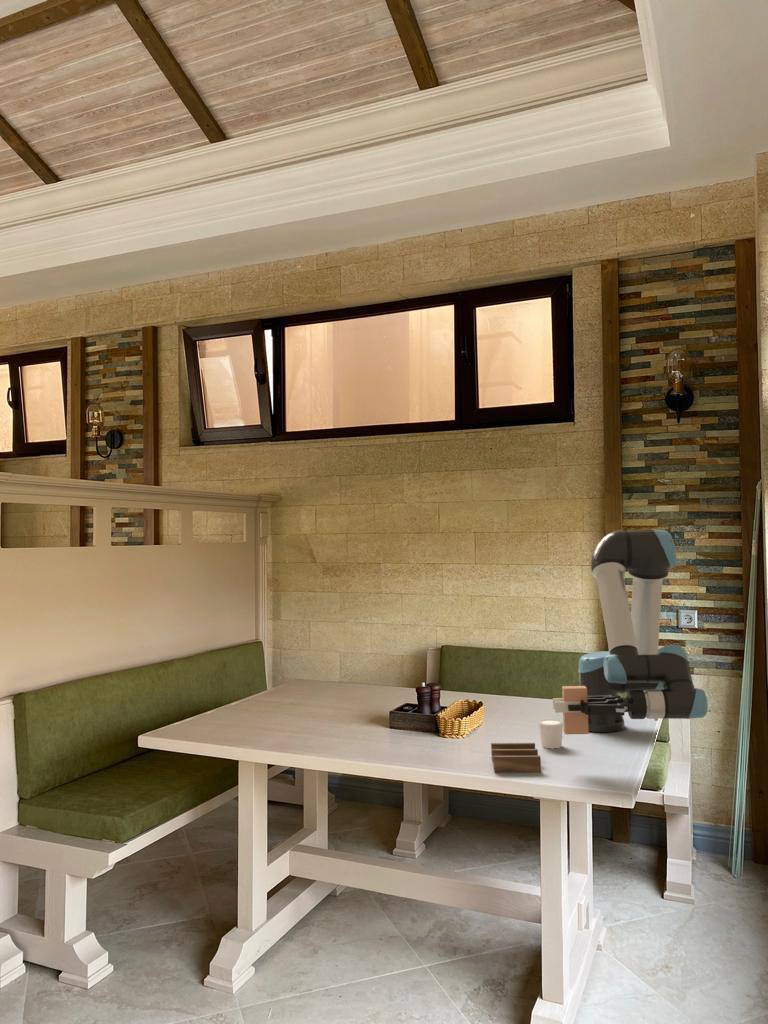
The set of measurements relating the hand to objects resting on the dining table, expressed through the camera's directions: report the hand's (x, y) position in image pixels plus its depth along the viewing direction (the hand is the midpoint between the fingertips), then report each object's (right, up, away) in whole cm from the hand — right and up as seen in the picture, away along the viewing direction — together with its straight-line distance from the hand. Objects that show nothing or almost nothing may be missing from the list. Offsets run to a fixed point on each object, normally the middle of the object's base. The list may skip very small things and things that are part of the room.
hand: (554, 705), depth 208 cm
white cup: (+4, -17, +21) cm, 27 cm away
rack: (-10, -17, +4) cm, 20 cm away
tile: (+6, -7, -1) cm, 9 cm away
